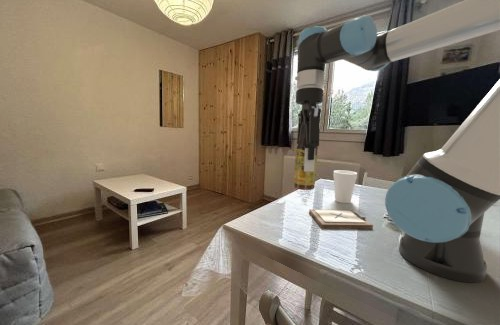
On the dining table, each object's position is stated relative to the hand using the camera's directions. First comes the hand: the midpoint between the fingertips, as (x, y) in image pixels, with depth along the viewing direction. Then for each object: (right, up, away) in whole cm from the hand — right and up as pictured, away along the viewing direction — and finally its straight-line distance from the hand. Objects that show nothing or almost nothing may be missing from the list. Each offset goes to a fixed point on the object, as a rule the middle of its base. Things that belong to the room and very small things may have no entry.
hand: (305, 169), depth 63 cm
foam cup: (+25, -15, +30) cm, 42 cm away
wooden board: (+14, -18, +9) cm, 24 cm away
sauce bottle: (0, -6, +1) cm, 6 cm away
